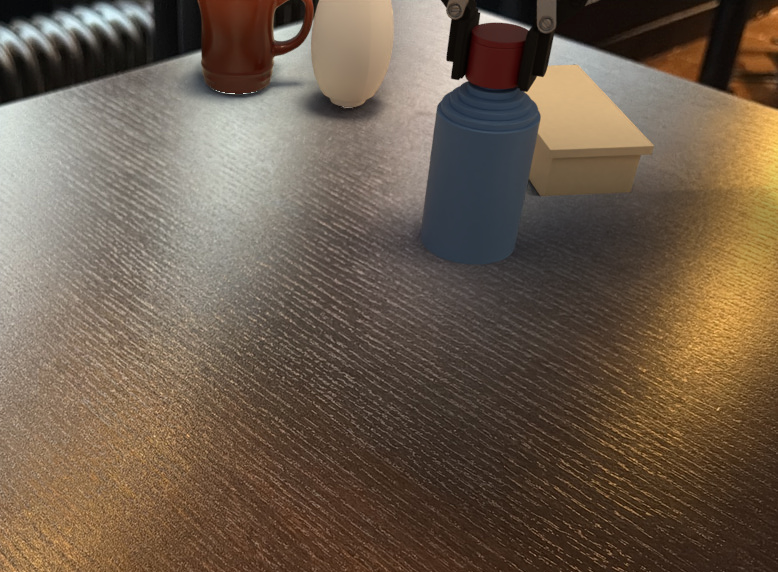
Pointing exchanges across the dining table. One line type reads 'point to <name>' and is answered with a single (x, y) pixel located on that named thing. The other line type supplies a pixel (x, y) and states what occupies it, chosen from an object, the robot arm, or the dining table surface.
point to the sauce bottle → (351, 48)
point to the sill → (582, 137)
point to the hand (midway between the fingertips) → (494, 76)
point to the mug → (243, 42)
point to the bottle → (478, 173)
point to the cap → (495, 55)
